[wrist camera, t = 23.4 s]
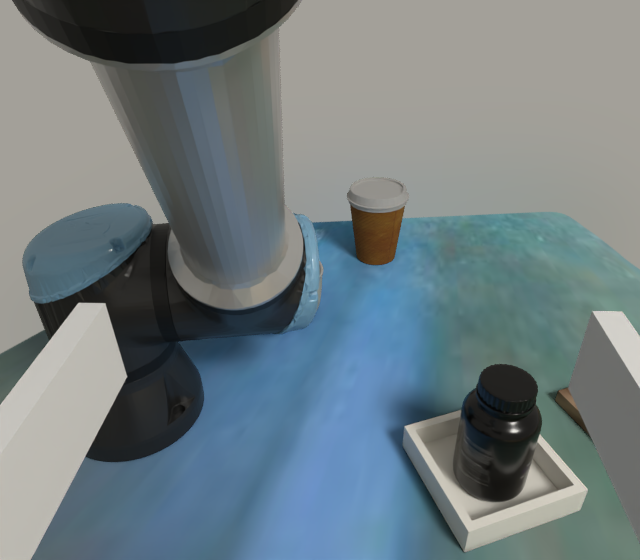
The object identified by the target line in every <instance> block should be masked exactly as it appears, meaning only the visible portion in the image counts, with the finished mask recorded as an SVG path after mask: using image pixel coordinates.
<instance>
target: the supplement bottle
mask: <svg viewBox="0 0 640 560" xmlns="http://www.w3.org/2000/svg"><path fill="white" fill-rule="evenodd" d="M537 388H538V386H537V384H536V381H535V380H534V378H533V377H532V376H531V375H530V374H528V373H527V372H526V371H524V370H523V369H520V368H518V367H515V366H512V365H507V364H495V365H491V366H490V367H487V368H486V369H484V370H483V371H482V372H481V375H480V376H479V381H478V384H477V386H476V388H475V389H473V390H472V391H471V392H469V394H468V395H467V396H466V397H465V399H464V401H463V405H462V410H461V415H460V421H459V427H458V433H457V439H456V445H455V450H454V457H453V471H454V475H455V477H456V479H457V481H458V482H459V484H460V485H461V486H462V487H463V488H464V489H465V490H466V491H467V492H468V493H470V494H471V495H473V496H475V497H477V498H479V499H481V500H485V501H489V502H505V501H508V500H511V499H513V498H515V497H516V496H518V495H519V494H520V492H521V491H522V490H523V488H524V486H525V482H526V479H527V476H528V473H529V469H530V466H531V462H532V459H533V455H534V452H535V448H536V445H537V441H538V438H539V435H540V431H541V426H542V417H541V413H540V411H539V409H538V407H537V405H536V396H537V393H538V389H537Z"/></svg>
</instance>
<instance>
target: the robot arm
mask: <svg viewBox="0 0 640 560" xmlns="http://www.w3.org/2000/svg"><path fill="white" fill-rule="evenodd" d="M12 1H13V2H14V4H15V6H16V7H17V9H18V10H19V11H20V13H21V14H22V16H23V17H24V19H25V20H26V21H27V22H28V23H29V24H30V25H31V26H32V27H33V28H34V30H36V31H37V32H38V33H39V34H41V35H42V36H43V37H45V38H46V39H47V40H48V41H50V42H51V43H53V44H55V45H56V46H58V47H60V48H62V49H63V50H65V51H67V52H69V53H71V54H73V55H76V56H78V57H81V58H83V59H85V60H88V61H90V62H91V64H92V66H93V68H94V70H95V72H96V75H97V77H98V79H99V80H100V83H101V85H102V87H103V89H104V91H105V93H106V95H107V97H108V99H109V101H110V103H111V105H112V107H113V109H114V111H115V114H116V115H117V118H118V120H119V122H120V124H121V126H122V128H123V130H124V132H125V134H126V136H127V138H128V140H129V142H130V144H131V146H132V148H133V151H134V153H135V154H136V157H137V159H138V161H139V163H140V165H141V167H142V169H143V171H144V173H145V175H146V177H147V179H148V181H149V183H150V185H151V187H152V190H153V192H154V194H155V196H156V198H157V200H158V202H159V203H160V206H161V208H162V210H163V212H164V214H165V216H166V218H167V220H168V222H169V223H166V224H153V223H152V219H151V216H149V215H148V213H147V212H146V210H145V209H143V208H142V207H140V206H137V205H135V206H133V205H131V204H127V203H120V204H119V203H118V204H108V205H102V206H98V207H93V208H89V209H86V210H83V211H80V212H77V213H74V214H72V215H69V216H67V217H65V218H63V219H61V220H59V221H57V222H55V223H53V224H51V225H50V226H48V227H47V228H45V229H44V230H42V231H41V232H40V233H38V234H37V235H36V236H35V237H34V238H33V239H32V241H31V242H30V243H29V244H28V246H27V248H26V249H25V252H24V255H23V262H22V263H23V268H24V272H25V276H26V279H27V283H28V286H29V295H30V298H31V300H32V301H34V303H35V306H36V308H37V311H38V313H39V316H40V318H41V321H42V323H43V326H44V328H45V331H46V333H47V336H48V338H49V342H48V343H47V345H46V346H45V347H44V349H43V350H42V351H41V353H40V354H39V355H38V356H37V358H36V359H35V360H34V362H33V363H32V364H31V366H30V367H29V368H28V370H27V371H26V372H25V373H24V375H23V376H22V377H21V379H20V380H19V381H18V383H17V384H16V385H15V387H14V388H13V389H12V390H11V392H10V393H9V394H8V396H7V397H6V398H5V400H4V401H3V402H2V404H1V405H0V560H31V558H32V556H33V555H34V553H35V551H36V549H37V547H38V545H39V543H40V541H41V539H42V538H43V536H44V534H45V532H46V530H47V528H48V526H49V524H50V522H51V520H52V519H53V517H54V515H55V513H56V511H57V509H58V507H59V505H60V503H61V501H62V500H63V498H64V496H65V494H66V492H67V490H68V488H69V486H70V484H71V482H72V481H73V479H74V477H75V475H76V473H77V471H78V469H79V467H80V465H81V463H82V462H83V460H84V458H85V456H86V457H89V458H91V459H95V460H99V461H106V462H121V461H129V460H135V459H139V458H142V457H146V456H149V455H151V454H154V453H156V452H158V451H160V450H162V449H164V448H166V447H168V446H169V445H171V444H173V443H174V442H175V441H177V440H178V439H179V438H181V437H182V436H183V435H184V434H185V433H186V432H187V431H188V430H189V429H190V428H191V427H192V425H193V424H194V423H195V421H196V420H197V418H198V417H199V415H200V412H201V410H202V407H203V402H204V391H203V386H202V381H201V377H200V374H199V372H198V370H197V368H196V366H195V365H194V364H193V362H192V361H191V359H190V358H189V357H188V355H187V354H186V352H185V351H184V350H183V348H182V347H181V346H180V344H179V343H178V341H186V340H198V339H210V338H222V337H234V336H246V335H258V334H270V333H272V334H284V333H286V332H288V331H294V330H300V329H303V328H305V327H307V326H308V325H309V324H310V323H311V322H312V320H313V318H314V316H315V313H316V310H317V305H318V292H317V290H318V289H319V282H320V269H319V253H318V245H317V238H316V234H315V230H314V227H313V224H312V222H311V221H310V220H309V219H308V217H306V216H305V215H302V214H295V213H292V211H291V210H290V209H289V208H288V207H287V206H286V205H285V202H284V171H283V142H282V141H283V140H282V111H281V79H280V48H279V27H280V26H281V25H282V24H283V23H284V22H285V21H286V20H287V19H288V18H289V17H290V16H291V14H292V13H293V12H294V11H295V10H296V8H297V7H298V6H299V4H300V3H301V1H302V0H12ZM568 389H569V391H570V393H571V395H572V397H573V400H574V402H575V404H576V406H577V408H578V411H579V413H580V415H581V417H582V419H583V421H584V424H585V426H586V428H587V430H588V432H589V434H590V437H591V439H592V441H593V443H594V445H595V447H596V450H597V452H598V454H599V456H600V458H601V461H602V463H603V465H604V467H605V469H606V471H607V474H608V476H609V478H610V480H611V482H612V484H613V487H614V489H615V491H616V493H617V495H618V497H619V500H620V502H621V504H622V506H623V508H624V510H625V513H626V515H627V517H628V519H629V521H630V524H631V526H632V528H633V530H634V532H635V534H636V537H637V539H638V541H639V543H640V336H639V335H638V333H637V332H636V330H635V329H634V327H633V326H632V325H631V323H630V322H629V320H628V319H627V317H626V316H625V315H624V313H623V312H618V311H592V313H591V316H590V319H589V323H588V326H587V329H586V332H585V335H584V339H583V342H582V345H581V348H580V351H579V355H578V358H577V361H576V364H575V367H574V371H573V374H572V377H571V380H570V383H569V387H568Z"/></svg>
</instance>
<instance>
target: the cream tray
mask: <svg viewBox="0 0 640 560" xmlns="http://www.w3.org/2000/svg"><path fill="white" fill-rule="evenodd" d="M460 415H461V410H459V411H455V412H452V413H448V414H445V415H441V416H438V417H435V418H431V419H428V420H424V421H421V422H417V423H414V424H410V425H407V426H404V435H403V448H404V450H405V451H406V453H407V455H408V456H409V458H410V460H411V462H412V463H413V465H414V467H415V468H416V470H417V472H418V474H419V475H420V477H421V479H422V481H423V482H424V484H425V486H426V487H427V489H428V491H429V493H430V494H431V496H432V498H433V499H434V501H435V503H436V505H437V506H438V508H439V510H440V512H441V513H442V515H443V517H444V518H445V520H446V522H447V524H448V525H449V527H450V529H451V531H452V532H453V534H454V536H455V537H456V539H457V541H458V543H459V544H460V546H461V548H462V549H463V551H464V552H467V551H470V550H473V549H475V548H478V547H481V546H484V545H486V544H489V543H492V542H494V541H497V540H500V539H503V538H505V537H508V536H511V535H514V534H516V533H519V532H522V531H525V530H527V529H530V528H533V527H536V526H538V525H541V524H544V523H547V522H549V521H552V520H555V519H558V518H560V517H563V516H566V515H569V514H571V513H574V512H577V511H580V509H581V506H582V504H583V501H584V499H585V496H586V494H587V491H588V489H587V488H586V487H585V486H584V484H583V483H582V482H581V481H580V480H579V479H578V478H577V476H576V475H575V474H574V473H573V472H572V471H571V470H570V468H569V467H568V466H567V465H566V464H565V463H564V462H563V460H562V459H561V458H560V457H559V456H558V455H557V454H556V452H555V451H554V450H553V449H552V448H551V447H550V446H549V444H548V443H547V442H546V441H545V440H544V439H543V438H542V436H541V435H539V438H538V441H537V445H536V448H535V452H534V455H533V459H532V462H531V466H530V469H529V473H528V476H527V479H526V482H525V486H524V488H523V490H522V491H521V492H520V494H519V495H518V496H516V497H515V498H513V499H511V500H508V501H505V502H489V501H485V500H481V499H479V498H477V497H475V496H473V495H471V494H470V493H468V492H467V491H466V490H465V489H464V488H463V487H462V486H461V485H460V484H459V482H458V481H457V479H456V477H455V475H454V471H453V457H454V450H455V445H456V439H457V433H458V427H459V421H460Z"/></svg>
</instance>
